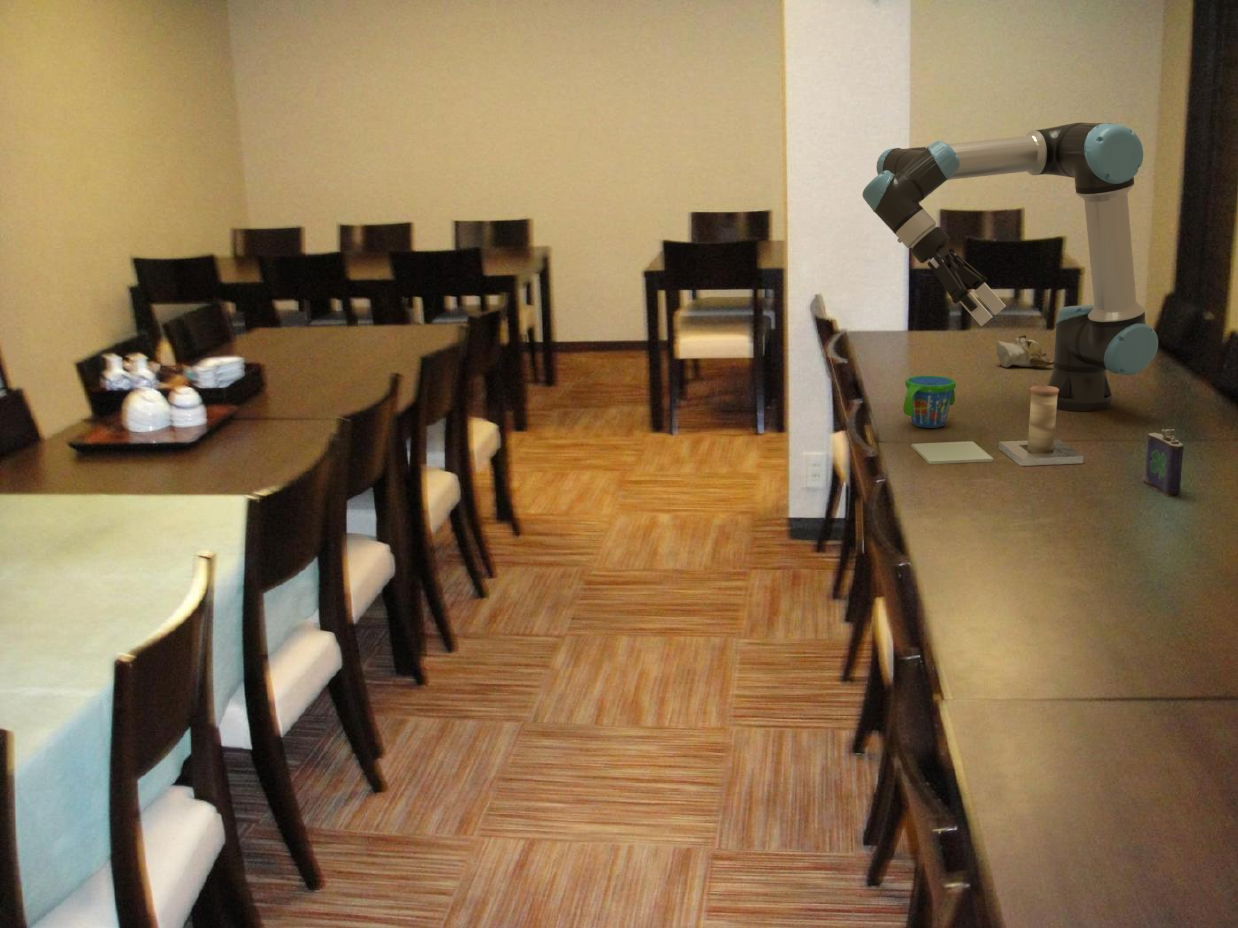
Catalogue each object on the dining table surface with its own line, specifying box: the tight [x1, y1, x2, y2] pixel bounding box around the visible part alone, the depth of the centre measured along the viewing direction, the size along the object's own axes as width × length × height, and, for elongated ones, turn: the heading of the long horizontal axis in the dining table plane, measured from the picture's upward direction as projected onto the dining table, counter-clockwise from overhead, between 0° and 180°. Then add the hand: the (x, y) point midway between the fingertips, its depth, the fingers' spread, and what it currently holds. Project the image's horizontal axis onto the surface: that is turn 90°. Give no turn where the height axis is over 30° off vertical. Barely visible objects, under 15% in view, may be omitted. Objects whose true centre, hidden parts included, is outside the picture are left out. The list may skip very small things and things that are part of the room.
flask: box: [1143, 428, 1185, 498], centre depth 236 cm, size 10×3×12 cm, turn 8°
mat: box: [911, 440, 994, 465], centre depth 263 cm, size 13×13×1 cm
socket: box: [998, 438, 1084, 467], centre depth 260 cm, size 13×13×2 cm
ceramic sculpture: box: [996, 335, 1054, 368], centre depth 338 cm, size 11×9×15 cm
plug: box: [1027, 385, 1059, 454], centre depth 258 cm, size 5×5×14 cm
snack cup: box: [902, 375, 957, 429], centre depth 284 cm, size 16×10×10 cm
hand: (994, 316), depth 257 cm, fingers open, 13 cm apart
